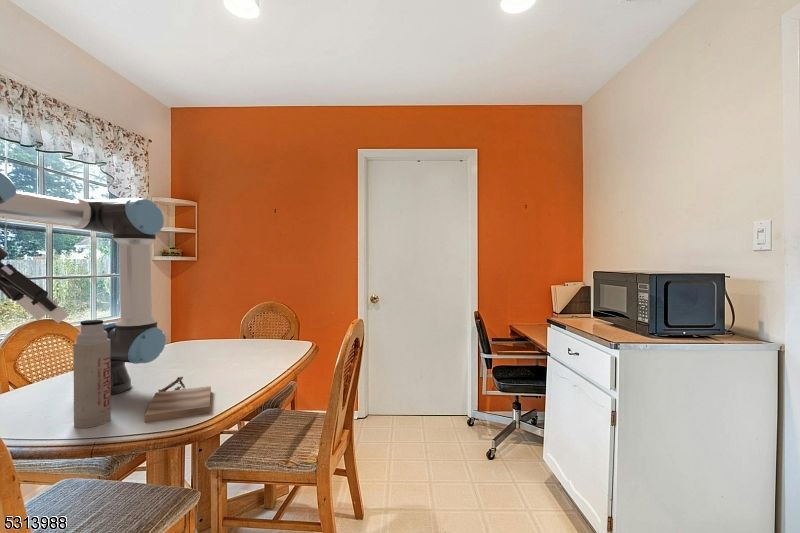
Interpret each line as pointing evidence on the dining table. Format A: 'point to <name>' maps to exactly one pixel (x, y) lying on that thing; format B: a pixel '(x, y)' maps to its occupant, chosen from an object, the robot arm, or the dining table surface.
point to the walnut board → (179, 403)
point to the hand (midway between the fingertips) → (53, 317)
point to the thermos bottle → (92, 375)
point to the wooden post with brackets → (173, 385)
